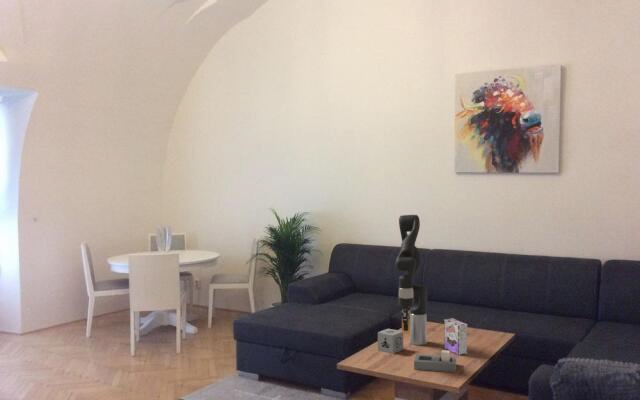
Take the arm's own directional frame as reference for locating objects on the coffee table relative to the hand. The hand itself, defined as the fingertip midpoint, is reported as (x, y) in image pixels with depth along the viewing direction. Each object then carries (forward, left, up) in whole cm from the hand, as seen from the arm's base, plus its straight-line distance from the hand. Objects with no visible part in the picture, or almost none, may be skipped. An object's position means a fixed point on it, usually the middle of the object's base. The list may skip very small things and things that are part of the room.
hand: (406, 329), depth 297 cm
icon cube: (-19, -11, -17) cm, 28 cm away
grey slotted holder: (+4, +15, -17) cm, 23 cm away
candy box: (-24, +24, -17) cm, 38 cm away
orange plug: (0, 0, -2) cm, 2 cm away
